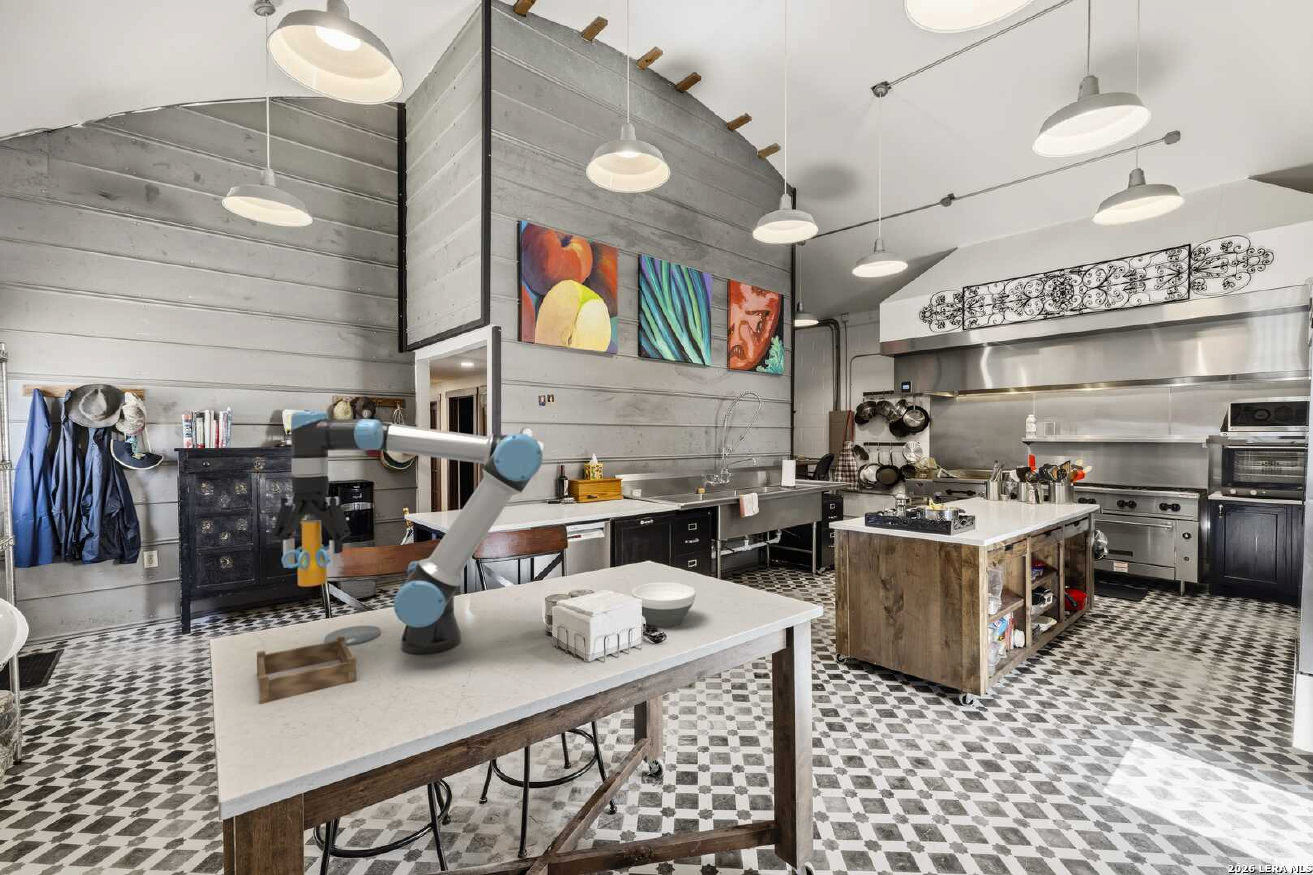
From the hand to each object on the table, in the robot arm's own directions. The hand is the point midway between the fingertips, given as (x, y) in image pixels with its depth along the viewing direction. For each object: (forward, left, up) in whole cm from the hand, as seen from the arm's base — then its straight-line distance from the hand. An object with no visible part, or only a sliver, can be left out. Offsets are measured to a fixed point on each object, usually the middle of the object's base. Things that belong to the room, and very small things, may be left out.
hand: (312, 566), depth 135 cm
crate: (0, +2, -26) cm, 26 cm away
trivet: (+7, -24, -26) cm, 36 cm away
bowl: (-79, -49, -26) cm, 97 cm away
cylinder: (0, 0, -4) cm, 4 cm away
